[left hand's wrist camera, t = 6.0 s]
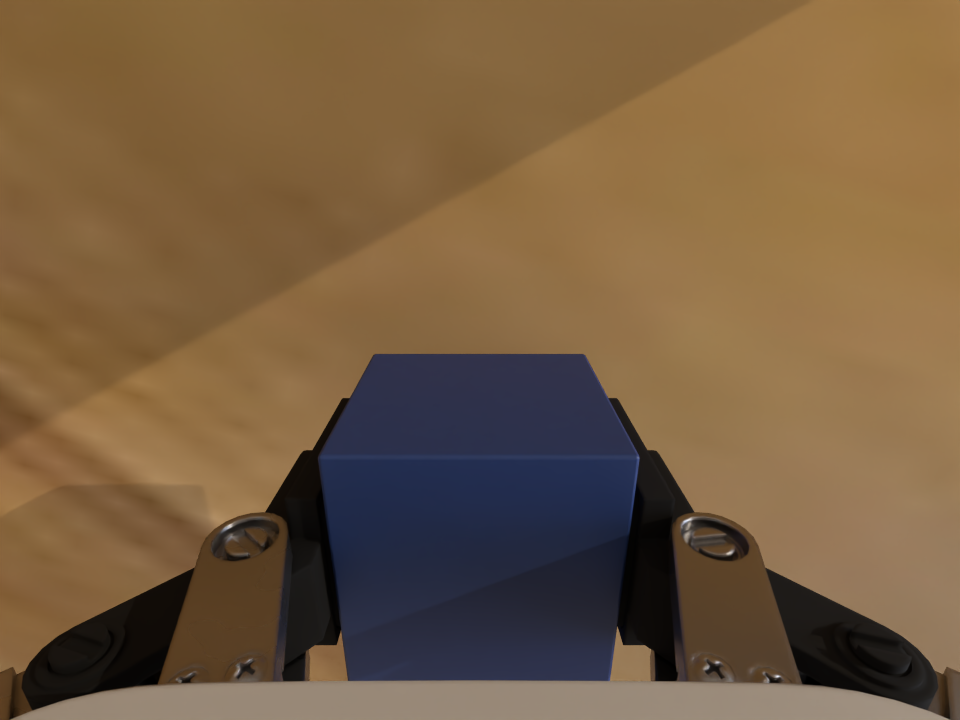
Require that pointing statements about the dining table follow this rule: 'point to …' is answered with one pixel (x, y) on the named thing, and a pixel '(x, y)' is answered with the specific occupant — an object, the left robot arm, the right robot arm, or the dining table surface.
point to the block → (478, 518)
